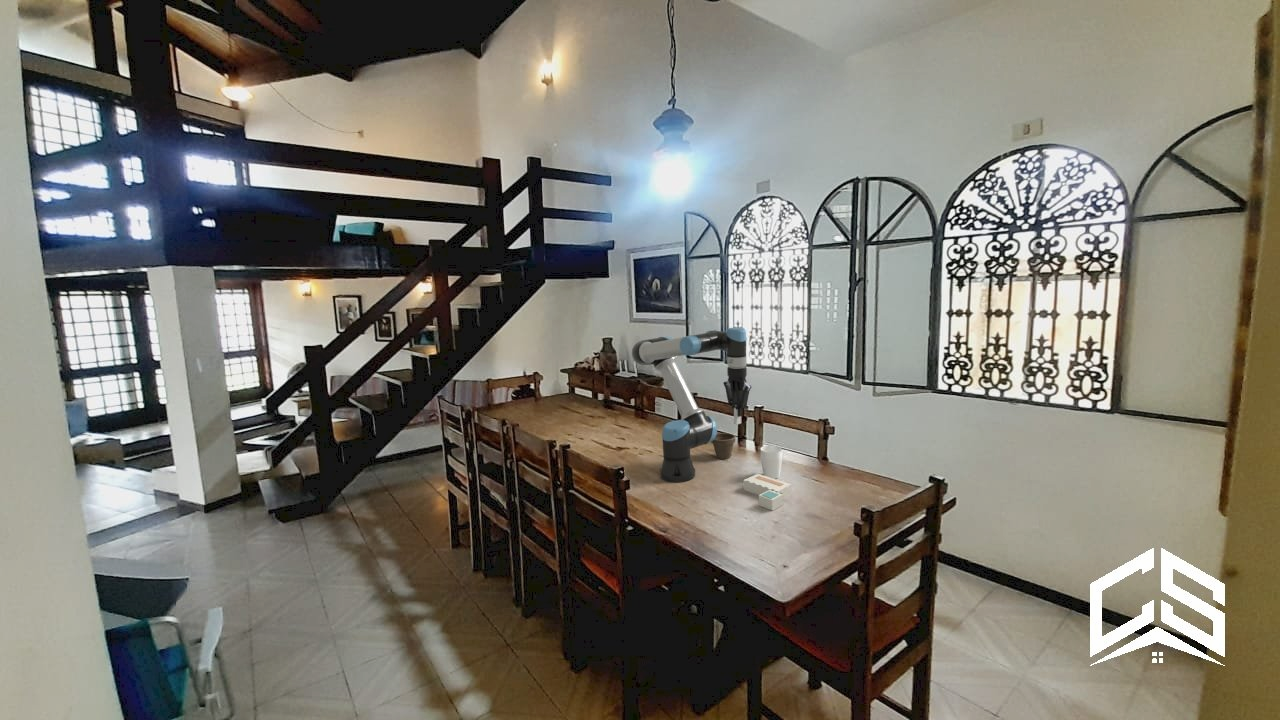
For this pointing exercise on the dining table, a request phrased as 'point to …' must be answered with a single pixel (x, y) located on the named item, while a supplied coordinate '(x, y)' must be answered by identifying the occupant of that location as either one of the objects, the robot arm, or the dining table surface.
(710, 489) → the dining table surface
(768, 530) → the dining table surface
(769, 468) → the cup
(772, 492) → the white teal-topped box
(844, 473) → the dining table surface
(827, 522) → the dining table surface
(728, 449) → the flower pot
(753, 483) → the block
